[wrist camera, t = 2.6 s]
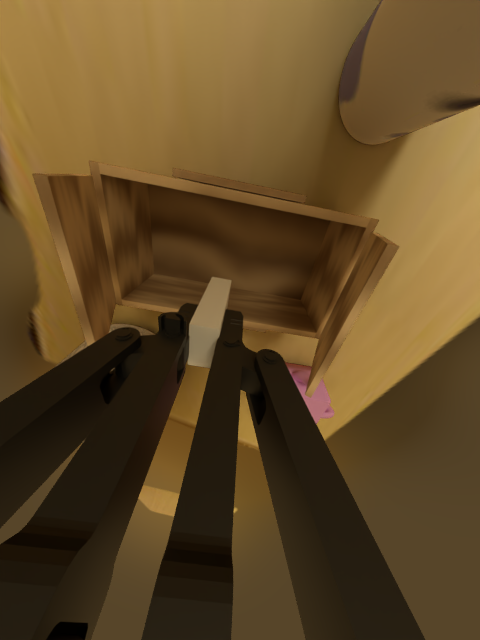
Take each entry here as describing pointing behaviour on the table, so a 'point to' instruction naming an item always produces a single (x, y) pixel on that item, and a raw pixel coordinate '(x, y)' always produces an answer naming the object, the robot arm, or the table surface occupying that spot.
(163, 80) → the table surface
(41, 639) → the robot arm
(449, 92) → the container
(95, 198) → the flap
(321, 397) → the teapot
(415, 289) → the table surface
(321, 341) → the flap
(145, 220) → the carton
